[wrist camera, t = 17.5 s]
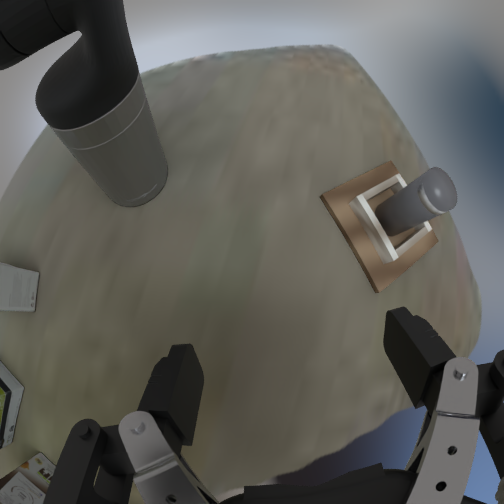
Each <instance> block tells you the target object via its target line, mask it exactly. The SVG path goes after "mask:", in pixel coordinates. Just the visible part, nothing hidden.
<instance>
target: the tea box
mask: <svg viewBox="0 0 504 504" xmlns="http://www.w3.org/2000/svg"><path fill="white" fill-rule="evenodd" d="M23 390H24V387H23V386H22V385H21V384H20V383H19V381H18V380H17V379H16V378H15V377H14V376H13V375H12V374H11V372H10V371H9V370H8V369H7V368H6V367H5V366H4V364H3V363H2V362H1V361H0V449H1V448H3V447H5V446H7V445H8V444H10V443H12V438H13V434H14V428H15V424H16V418H17V415H18V410H19V405H20V402H21V398H22V394H23Z"/></svg>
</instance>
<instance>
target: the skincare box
mask: <svg viewBox="0 0 504 504" xmlns="http://www.w3.org/2000/svg"><path fill="white" fill-rule="evenodd" d="M38 280H39V272H36V271H31V270H27V269H22V268H18V267H14V266H12V265H9V264H6V263H2V262H0V311H30V312H34V311H35V302H36V294H37V287H38Z"/></svg>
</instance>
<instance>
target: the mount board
mask: <svg viewBox="0 0 504 504" xmlns="http://www.w3.org/2000/svg"><path fill="white" fill-rule="evenodd" d="M405 186H407V184H406V182H405V181H404V179H403V178H402V176H401V175H400V173H399V172H398V170H397V169H396V167H395V166H394V164H393V163H392V161H389V162H387V163H385V164H383V165H381V166H379V167H377V168H374V169H372V170H370V171H368V172H366V173H364V174H362V175H360V176H358V177H356V178H354V179H352V180H350V181H348V182H346V183H344V184H342V185H340V186H338V187H336V188H334V189H332V190H330V191H328V192H326V193H324V194H322V195H321V196H320V198H321V200H322V201H323V203H324V204H325V206H326V207H327V209H328V211H329V212H330V214H331V215H332V217H333V219H334V220H335V222H336V224H337V225H338V227H339V229H340V230H341V232H342V234H343V235H344V237H345V239H346V240H347V242H348V244H349V246H350V247H351V249H352V251H353V252H354V254H355V256H356V258H357V260H358V261H359V263H360V265H361V267H362V269H363V270H364V272H365V274H366V276H367V278H368V280H369V282H370V283H371V285H372V287H373V289H374V291H375V293H379V292H380V291H382V290H383V289H384V288H385V287H387V286H388V285H389V284H390V283H392V282H393V281H394V280H395V279H396V278H398V277H399V276H400V275H401V274H402V273H404V272H405V271H406V270H407V269H408V268H409V267H411V266H412V265H413V264H414V263H415V262H416V261H417V260H419V259H420V258H421V257H422V256H423V255H424V254H425V253H426V252H427V251H429V250H430V249H431V248H432V247H433V246H434V245H435V244H436V243H437V242H438V239H437V237H436V235H435V233H434V231H433V229H432V227H431V225H430V224H429V222H428V221H426V222H424V223H422V224H420V225H417V226H415V227H413V228H411V229H409V230H407V231H404V232H402V233H400V234H398V235H396V236H387V235H386V233H385V231H384V230H383V228H382V226H381V224H380V223H379V221H378V219H377V218H376V216H375V210H376V208H377V206H378V205H379V204H381V203H382V202H384V201H385V200H387V199H388V198H390V197H391V196H393V195H394V194H395V193H397V192H398V191H400V190H401V189H403V188H404V187H405Z"/></svg>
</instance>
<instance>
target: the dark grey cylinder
mask: <svg viewBox="0 0 504 504" xmlns="http://www.w3.org/2000/svg"><path fill="white" fill-rule="evenodd" d="M456 203H457V192H456V188H455V186H454V184H453V182H452V180H451V178H450V177H449V176H448V174H447V173H446V172H445V171H443V170H442V169H440V168H437V167H433V168H431V169H429V170H428V171H427V172H425V173H424V174H422V175H421V176H420V177H418V178H417V179H415V180H414V181H413V182H411V183H410V184H408V185H407V186H405V187H404V188H403V189H401V190H400V191H398V192H397V193H395V194H394V195H393V196H391V197H390V198H388V199H387V200H385V201H384V202H382V203H381V204H379V205H378V206H377V208H376V210H375V216H376V218H377V219H378V221H379V223H380V224H381V226H382V228H383V230H384V231H385V233H386V235H387V236H396V235H398V234H400V233H402V232H404V231H407V230H409V229H411V228H413V227H415V226H417V225H420V224H422V223H424V222H426V221H428V220H430V219H432V218H434V217H436V216H439V215H441V214H443V213H445V212H447V211H449V210H451V209H453V208H454V207H455V206H456Z"/></svg>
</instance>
